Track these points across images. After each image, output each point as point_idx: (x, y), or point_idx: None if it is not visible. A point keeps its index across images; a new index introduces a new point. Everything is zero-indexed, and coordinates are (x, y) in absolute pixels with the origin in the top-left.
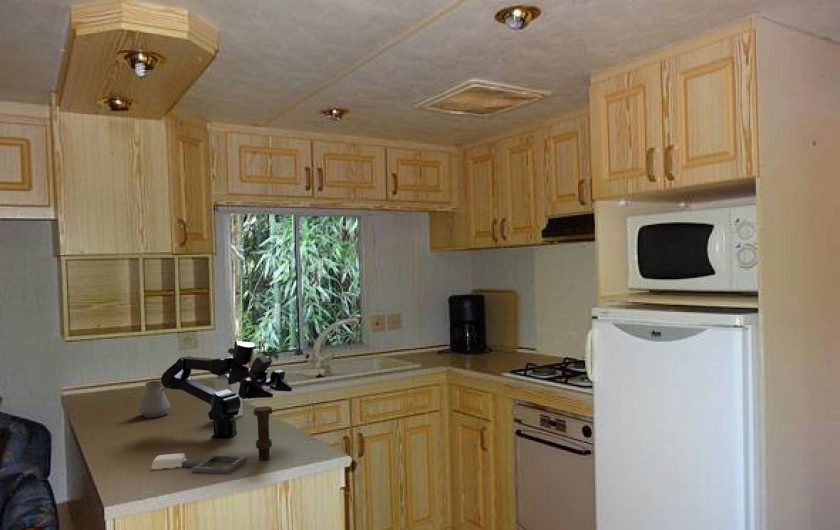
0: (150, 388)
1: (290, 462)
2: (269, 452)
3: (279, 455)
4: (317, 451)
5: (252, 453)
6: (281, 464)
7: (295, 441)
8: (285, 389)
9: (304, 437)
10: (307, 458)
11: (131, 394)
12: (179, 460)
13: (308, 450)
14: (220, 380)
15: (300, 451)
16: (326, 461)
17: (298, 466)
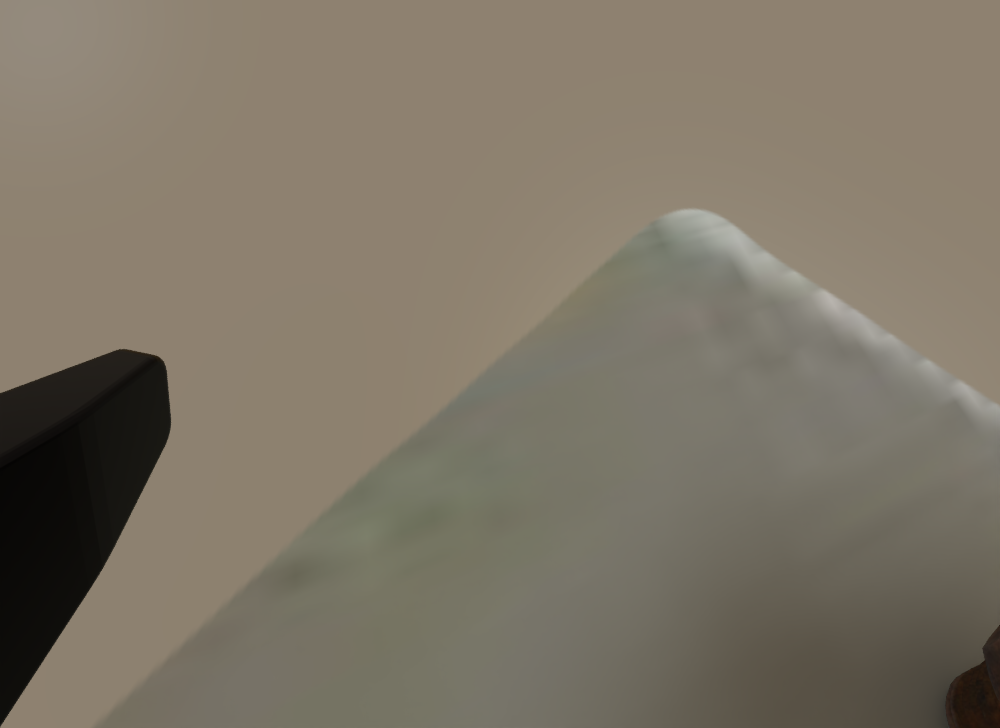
0: None
1: (919, 464)
2: (978, 668)
3: (830, 637)
4: (612, 378)
5: None
6: (992, 509)
7: (357, 701)
8: (30, 615)
9: (185, 668)
10: (784, 387)
11: None
12: None
13: (611, 449)
14: None
15: (657, 501)
16: (779, 266)
17: (949, 382)
